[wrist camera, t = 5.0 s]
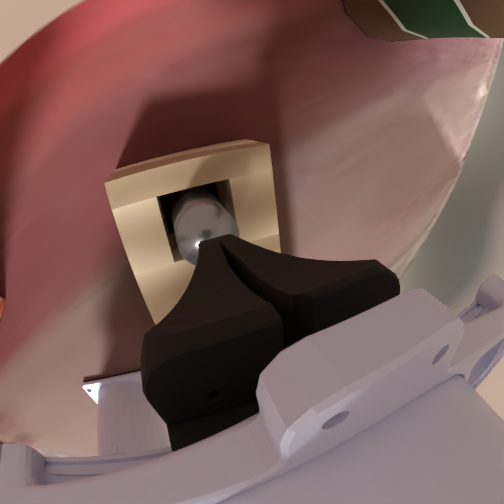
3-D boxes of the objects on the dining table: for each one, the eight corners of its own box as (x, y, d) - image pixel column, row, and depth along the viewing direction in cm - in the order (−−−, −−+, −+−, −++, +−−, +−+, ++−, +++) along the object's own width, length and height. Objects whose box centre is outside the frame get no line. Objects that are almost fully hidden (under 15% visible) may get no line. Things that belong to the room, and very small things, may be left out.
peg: (222, 226, 18) (243, 258, 14) (177, 238, 17) (185, 274, 14) (214, 182, 17) (234, 201, 13) (165, 194, 16) (170, 218, 12)
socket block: (267, 308, 26) (287, 340, 22) (172, 337, 24) (179, 374, 20) (244, 138, 18) (269, 144, 15) (115, 169, 16) (104, 183, 13)
